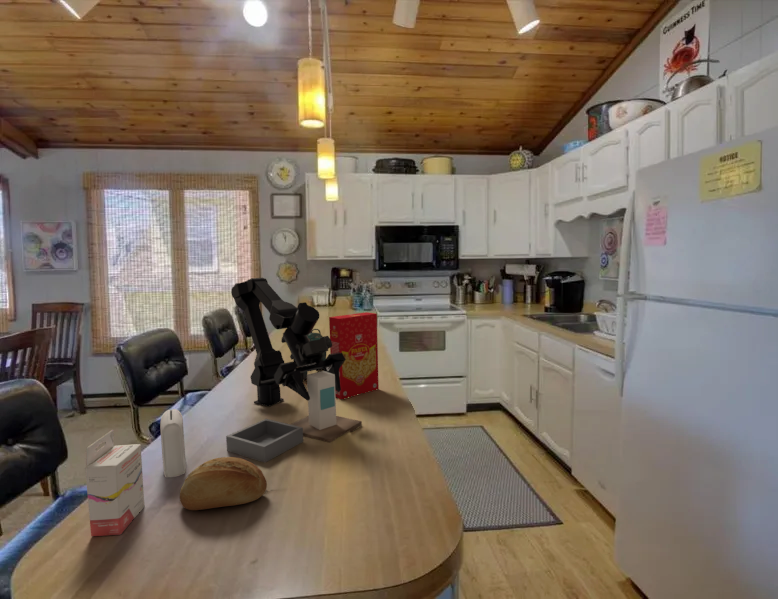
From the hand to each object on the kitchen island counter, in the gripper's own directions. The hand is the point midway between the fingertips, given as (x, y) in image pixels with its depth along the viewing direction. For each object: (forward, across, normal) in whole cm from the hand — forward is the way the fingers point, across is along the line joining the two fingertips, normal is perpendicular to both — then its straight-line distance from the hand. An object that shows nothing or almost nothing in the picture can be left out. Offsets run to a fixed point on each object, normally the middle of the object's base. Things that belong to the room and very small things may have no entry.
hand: (324, 395), depth 111 cm
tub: (+6, -16, +7) cm, 18 cm away
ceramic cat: (-28, +26, +41) cm, 56 cm away
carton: (+5, 0, +7) cm, 8 cm away
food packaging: (-7, +24, +20) cm, 32 cm away
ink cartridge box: (+12, -47, +1) cm, 48 cm away
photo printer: (+3, -34, +11) cm, 36 cm away
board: (+6, 0, +7) cm, 9 cm away
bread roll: (+17, -32, -4) cm, 36 cm away
